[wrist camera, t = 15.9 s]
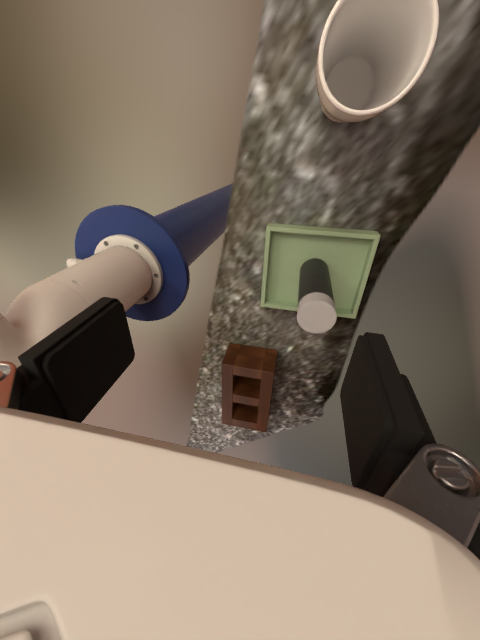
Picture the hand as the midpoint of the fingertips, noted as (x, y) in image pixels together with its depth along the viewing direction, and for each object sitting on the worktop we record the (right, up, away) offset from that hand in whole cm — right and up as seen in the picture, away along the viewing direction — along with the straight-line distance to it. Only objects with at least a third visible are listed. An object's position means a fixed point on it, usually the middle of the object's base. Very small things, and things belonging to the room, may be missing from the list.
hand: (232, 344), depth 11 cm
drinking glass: (+12, +25, +18) cm, 33 cm away
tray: (+11, +8, +29) cm, 32 cm away
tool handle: (+11, +8, +28) cm, 31 cm away
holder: (+3, -10, +42) cm, 44 cm away
